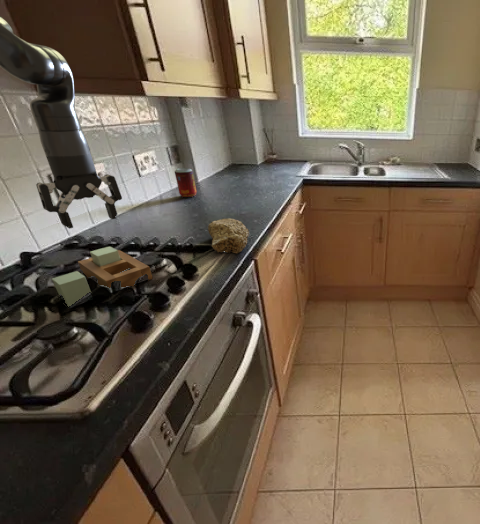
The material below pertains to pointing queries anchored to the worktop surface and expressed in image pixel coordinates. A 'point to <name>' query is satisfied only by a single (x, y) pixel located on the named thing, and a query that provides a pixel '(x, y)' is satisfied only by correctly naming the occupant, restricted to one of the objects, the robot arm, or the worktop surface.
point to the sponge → (228, 235)
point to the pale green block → (71, 287)
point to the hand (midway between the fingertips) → (92, 222)
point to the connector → (116, 270)
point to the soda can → (185, 182)
